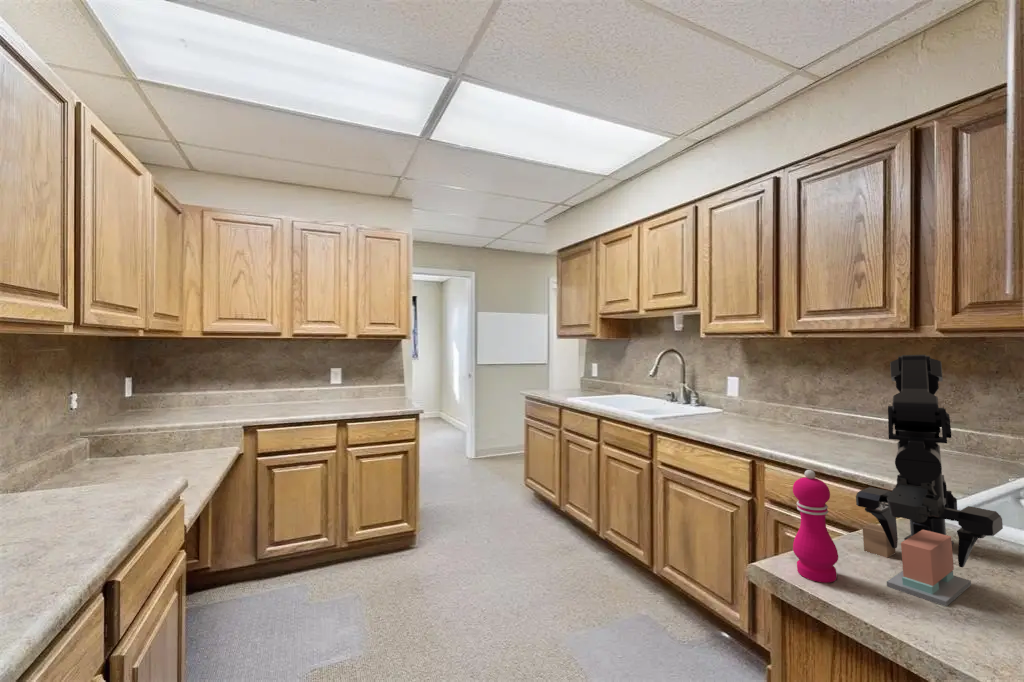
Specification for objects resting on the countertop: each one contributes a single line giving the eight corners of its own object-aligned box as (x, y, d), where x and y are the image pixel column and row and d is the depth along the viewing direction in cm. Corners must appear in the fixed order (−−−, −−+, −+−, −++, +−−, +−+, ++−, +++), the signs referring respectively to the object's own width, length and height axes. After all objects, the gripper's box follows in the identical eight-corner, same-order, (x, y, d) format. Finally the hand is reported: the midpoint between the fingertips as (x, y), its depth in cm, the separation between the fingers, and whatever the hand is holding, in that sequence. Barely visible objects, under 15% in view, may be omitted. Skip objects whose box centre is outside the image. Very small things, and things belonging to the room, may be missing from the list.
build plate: (913, 567, 86) (912, 557, 86) (971, 585, 79) (970, 573, 79) (886, 586, 80) (886, 574, 80) (946, 606, 73) (945, 594, 73)
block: (872, 546, 96) (871, 523, 96) (895, 552, 93) (894, 528, 93) (864, 551, 94) (862, 527, 94) (887, 558, 91) (885, 533, 91)
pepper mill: (796, 579, 84) (789, 473, 84) (792, 563, 90) (786, 464, 91) (843, 587, 80) (835, 476, 81) (836, 569, 87) (828, 466, 87)
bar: (925, 561, 84) (922, 529, 85) (953, 569, 81) (951, 536, 81) (903, 576, 79) (900, 542, 80) (932, 586, 76) (930, 550, 76)
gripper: (839, 467, 84) (845, 550, 84) (977, 490, 68) (985, 593, 68) (866, 458, 90) (872, 535, 90) (999, 477, 74) (1007, 572, 73)
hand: (926, 556), depth 80 cm, fingers open, 9 cm apart
